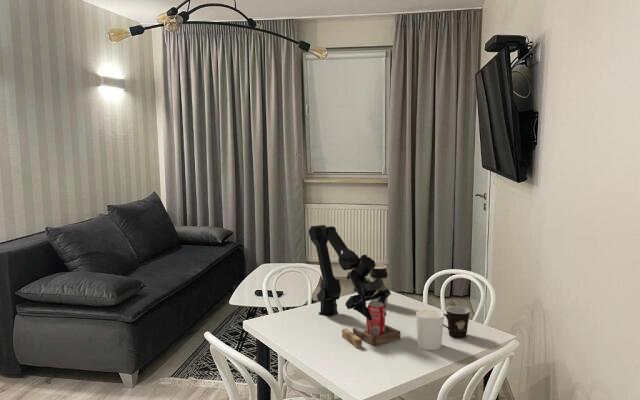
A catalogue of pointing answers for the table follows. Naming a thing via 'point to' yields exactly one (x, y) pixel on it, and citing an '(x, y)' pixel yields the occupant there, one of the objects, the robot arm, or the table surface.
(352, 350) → the table surface
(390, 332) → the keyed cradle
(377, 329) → the soda can
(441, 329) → the candle holder
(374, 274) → the travel mug
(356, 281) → the robot arm
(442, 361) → the table surface
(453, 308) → the coffee mug
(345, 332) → the door edge rail
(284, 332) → the table surface
